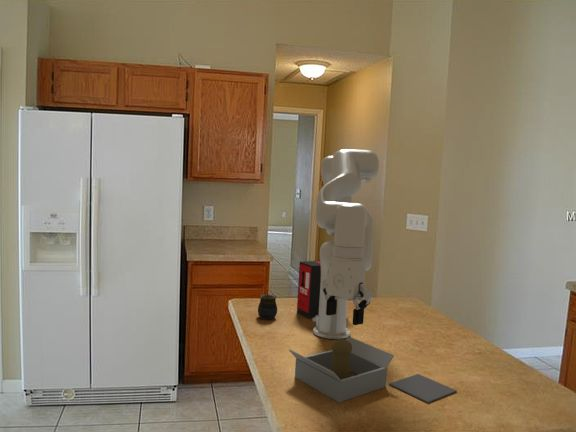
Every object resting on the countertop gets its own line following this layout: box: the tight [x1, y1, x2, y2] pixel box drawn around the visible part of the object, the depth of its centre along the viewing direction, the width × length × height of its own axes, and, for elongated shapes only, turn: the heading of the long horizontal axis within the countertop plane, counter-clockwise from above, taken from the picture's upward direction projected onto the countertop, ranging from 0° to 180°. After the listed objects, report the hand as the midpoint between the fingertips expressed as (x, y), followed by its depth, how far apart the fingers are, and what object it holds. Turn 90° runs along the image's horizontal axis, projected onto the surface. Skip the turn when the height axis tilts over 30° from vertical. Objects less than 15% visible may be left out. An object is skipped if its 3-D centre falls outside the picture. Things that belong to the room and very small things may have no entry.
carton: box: [288, 336, 395, 403], centre depth 126 cm, size 17×22×8 cm
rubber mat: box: [388, 373, 458, 404], centre depth 125 cm, size 12×12×1 cm
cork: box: [329, 338, 352, 380], centre depth 126 cm, size 6×6×11 cm
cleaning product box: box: [296, 260, 321, 320], centre depth 188 cm, size 16×9×20 cm, turn 120°
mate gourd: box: [257, 293, 278, 320], centre depth 179 cm, size 7×8×10 cm
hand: (344, 319), depth 124 cm, fingers open, 9 cm apart
